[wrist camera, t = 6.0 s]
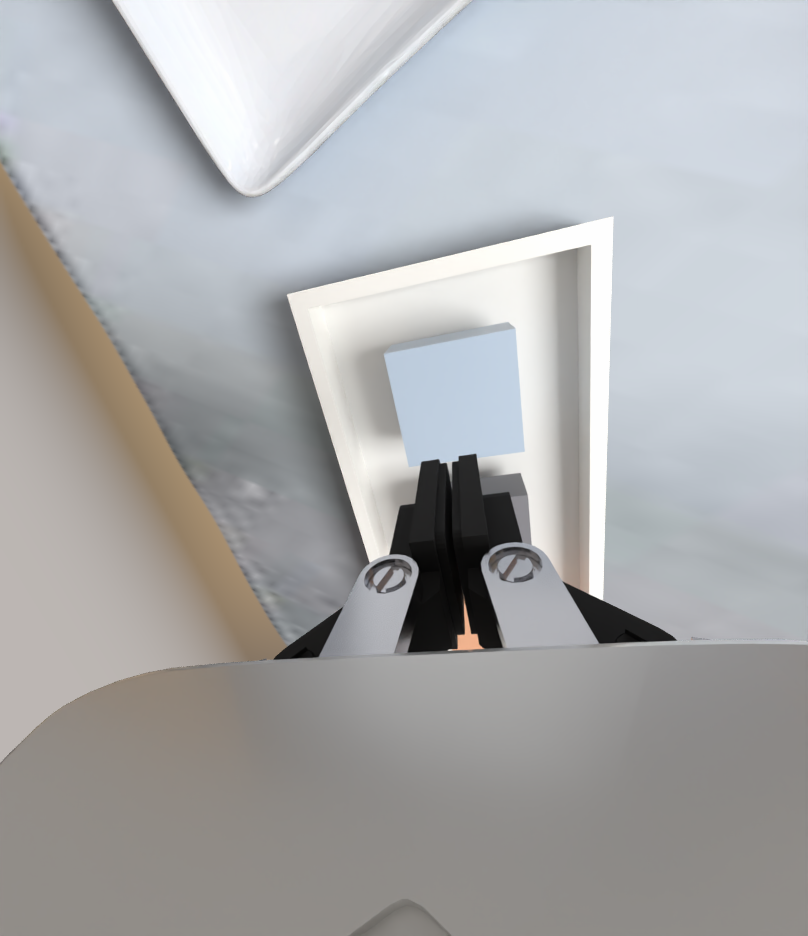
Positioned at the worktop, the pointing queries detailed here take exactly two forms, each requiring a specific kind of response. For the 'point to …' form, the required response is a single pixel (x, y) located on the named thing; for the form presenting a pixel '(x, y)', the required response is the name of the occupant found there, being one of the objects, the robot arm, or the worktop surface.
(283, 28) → the salad plate
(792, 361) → the worktop surface
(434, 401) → the dusty blue key
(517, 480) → the charcoal key
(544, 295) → the white rectangular tray
